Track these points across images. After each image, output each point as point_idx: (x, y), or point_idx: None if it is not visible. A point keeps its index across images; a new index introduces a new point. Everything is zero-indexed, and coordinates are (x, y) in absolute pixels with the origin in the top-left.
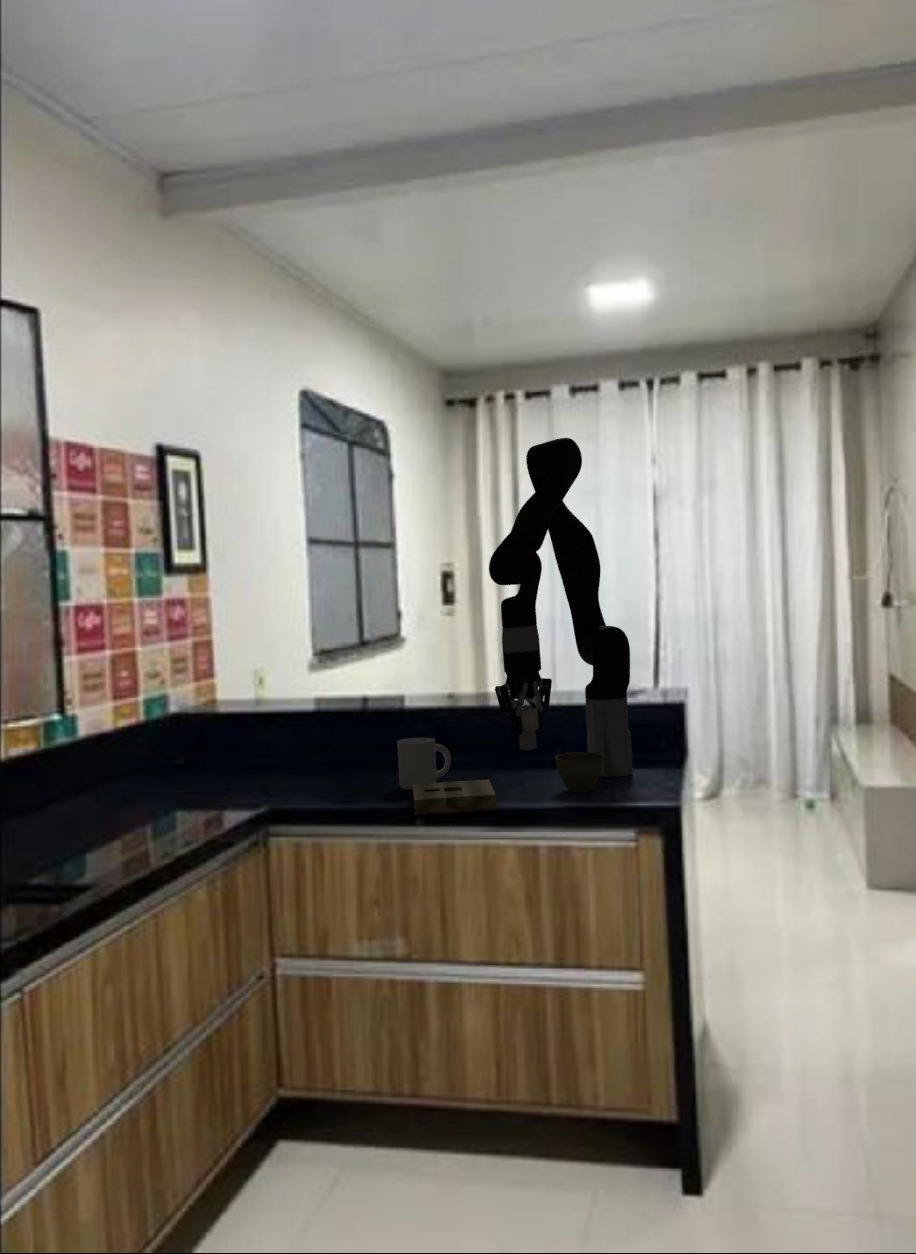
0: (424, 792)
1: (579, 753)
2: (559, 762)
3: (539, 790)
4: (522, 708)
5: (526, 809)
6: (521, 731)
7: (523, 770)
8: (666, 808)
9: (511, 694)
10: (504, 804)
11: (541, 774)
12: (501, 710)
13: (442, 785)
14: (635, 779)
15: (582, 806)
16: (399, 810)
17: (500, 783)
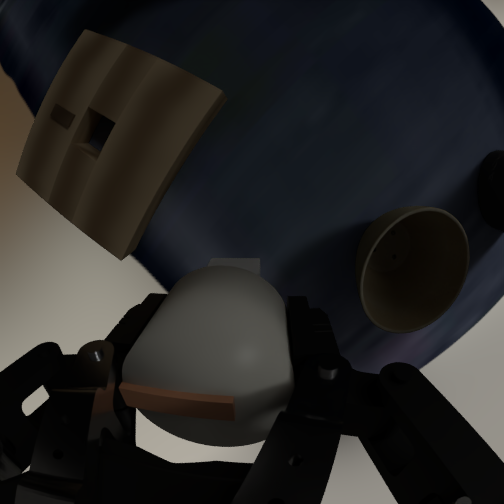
0: (47, 124)
1: (460, 232)
2: (361, 261)
3: (333, 168)
4: (236, 350)
5: None
6: None
7: (437, 12)
8: None
9: (51, 455)
10: (175, 220)
11: (443, 61)
12: (30, 358)
13: (103, 77)
14: (485, 258)
15: None
16: None
17: (328, 35)
